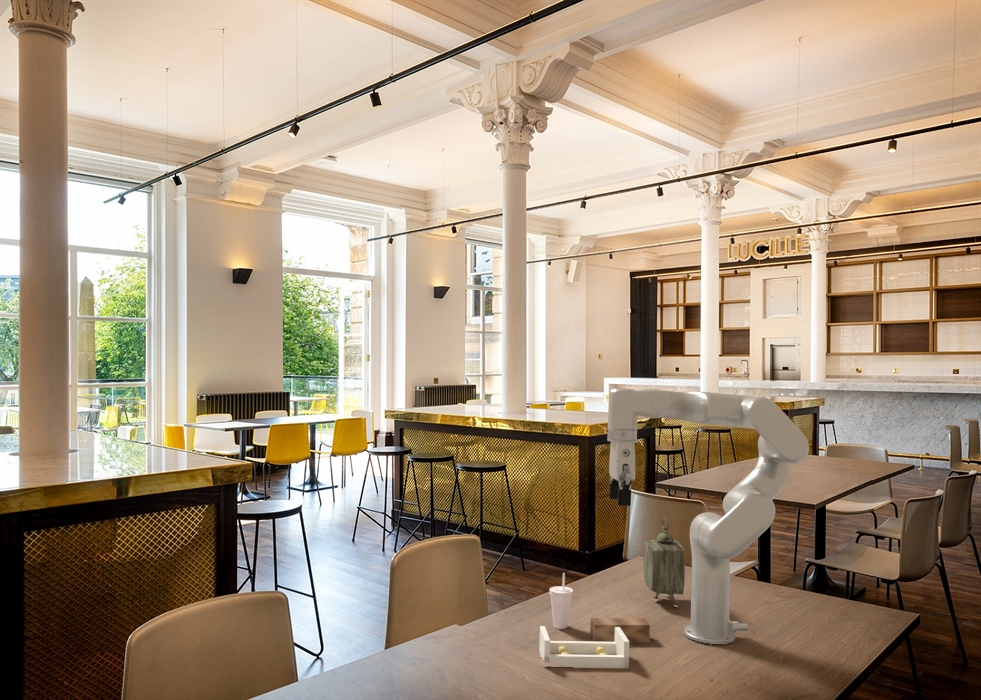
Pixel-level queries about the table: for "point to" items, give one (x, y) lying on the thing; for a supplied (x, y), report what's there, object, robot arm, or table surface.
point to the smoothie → (561, 604)
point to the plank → (630, 626)
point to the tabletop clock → (664, 565)
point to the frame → (586, 651)
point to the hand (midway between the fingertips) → (619, 502)
